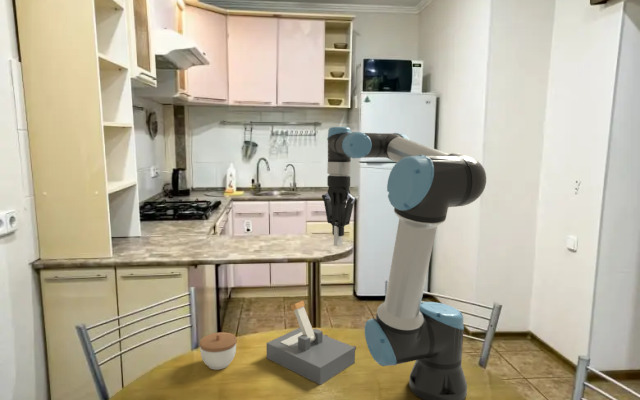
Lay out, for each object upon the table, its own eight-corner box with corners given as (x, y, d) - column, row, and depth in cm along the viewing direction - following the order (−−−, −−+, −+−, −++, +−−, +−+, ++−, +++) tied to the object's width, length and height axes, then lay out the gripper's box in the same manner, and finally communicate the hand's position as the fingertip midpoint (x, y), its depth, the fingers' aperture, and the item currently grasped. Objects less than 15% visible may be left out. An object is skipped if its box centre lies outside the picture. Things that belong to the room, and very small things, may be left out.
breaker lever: (317, 338, 129) (303, 300, 132) (309, 343, 126) (295, 303, 129) (313, 340, 130) (298, 302, 133) (305, 344, 128) (290, 305, 130)
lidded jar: (228, 376, 120) (227, 344, 119) (193, 371, 123) (192, 341, 121) (242, 357, 131) (241, 328, 130) (210, 353, 133) (209, 325, 132)
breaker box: (354, 362, 128) (355, 336, 127) (320, 384, 116) (320, 355, 115) (302, 340, 142) (302, 316, 141) (266, 358, 130) (266, 332, 129)
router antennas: (356, 349, 136) (357, 346, 136) (343, 357, 131) (343, 354, 131) (325, 337, 145) (325, 333, 145) (311, 344, 140) (311, 341, 139)
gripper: (361, 175, 137) (360, 246, 140) (330, 173, 145) (330, 240, 148) (347, 176, 131) (346, 250, 134) (316, 174, 140) (316, 244, 143)
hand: (338, 245), depth 141 cm, fingers closed
